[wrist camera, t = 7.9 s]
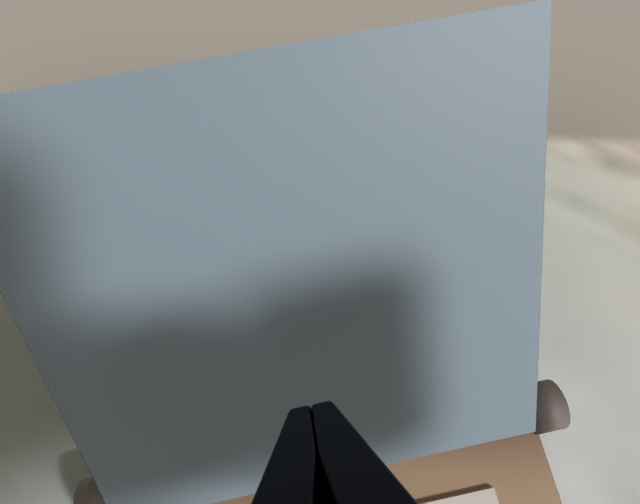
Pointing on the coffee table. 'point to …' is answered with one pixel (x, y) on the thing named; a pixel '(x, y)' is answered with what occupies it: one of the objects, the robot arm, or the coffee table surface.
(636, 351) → the coffee table surface
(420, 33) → the door
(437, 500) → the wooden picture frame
